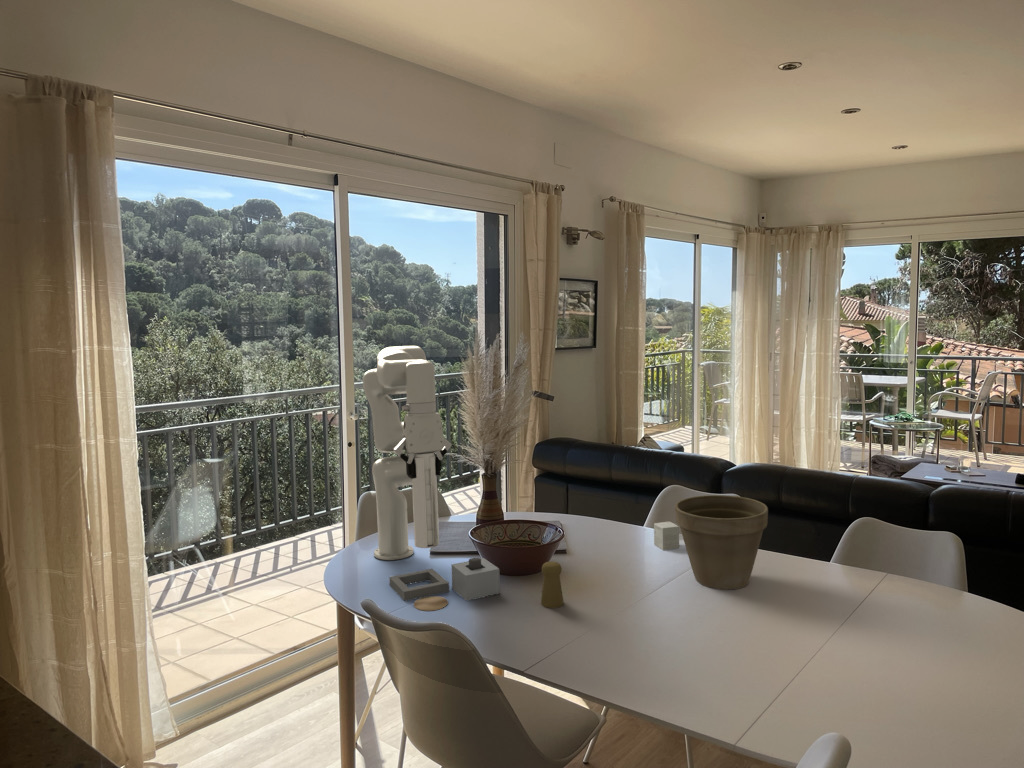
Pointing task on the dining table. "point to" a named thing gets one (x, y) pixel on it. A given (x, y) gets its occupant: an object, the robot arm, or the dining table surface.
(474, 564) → the plunger
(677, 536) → the grey cube
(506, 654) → the dining table surface
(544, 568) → the pepper shaker
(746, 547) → the plant pot
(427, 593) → the collar
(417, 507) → the air filter
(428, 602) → the pad
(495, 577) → the housing
